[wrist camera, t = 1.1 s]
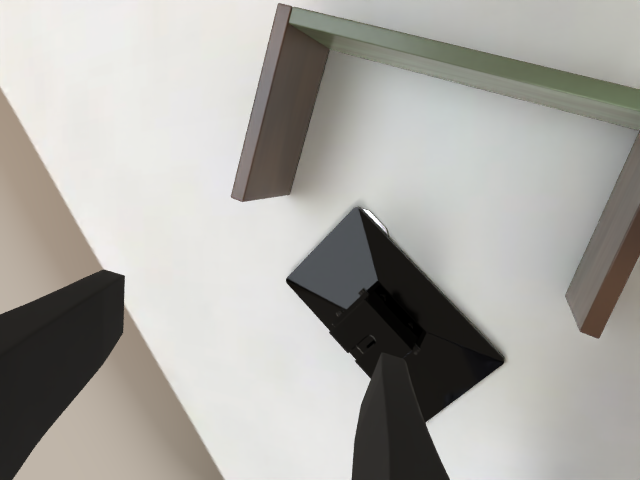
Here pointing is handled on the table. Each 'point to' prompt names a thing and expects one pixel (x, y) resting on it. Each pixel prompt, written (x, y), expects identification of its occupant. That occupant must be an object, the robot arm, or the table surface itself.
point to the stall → (457, 66)
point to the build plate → (392, 312)
